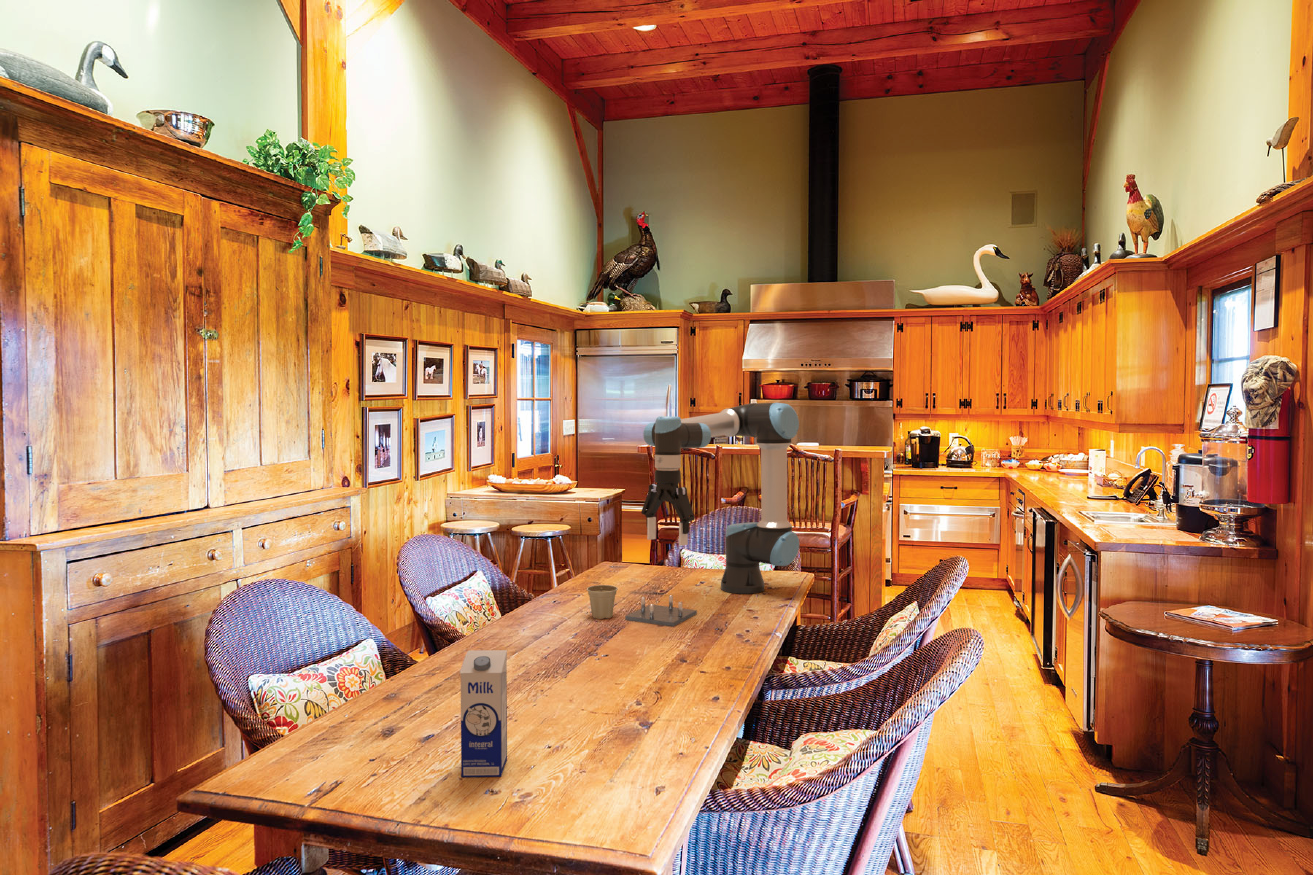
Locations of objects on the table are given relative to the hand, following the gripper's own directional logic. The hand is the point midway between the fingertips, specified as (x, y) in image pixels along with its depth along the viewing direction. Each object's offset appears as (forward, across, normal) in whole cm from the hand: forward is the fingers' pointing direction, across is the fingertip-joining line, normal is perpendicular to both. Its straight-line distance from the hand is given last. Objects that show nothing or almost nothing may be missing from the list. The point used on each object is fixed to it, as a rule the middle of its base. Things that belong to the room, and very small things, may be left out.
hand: (667, 542), depth 231 cm
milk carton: (+25, +47, -87) cm, 102 cm away
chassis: (+24, -6, +4) cm, 25 cm away
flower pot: (+24, -19, -9) cm, 32 cm away
